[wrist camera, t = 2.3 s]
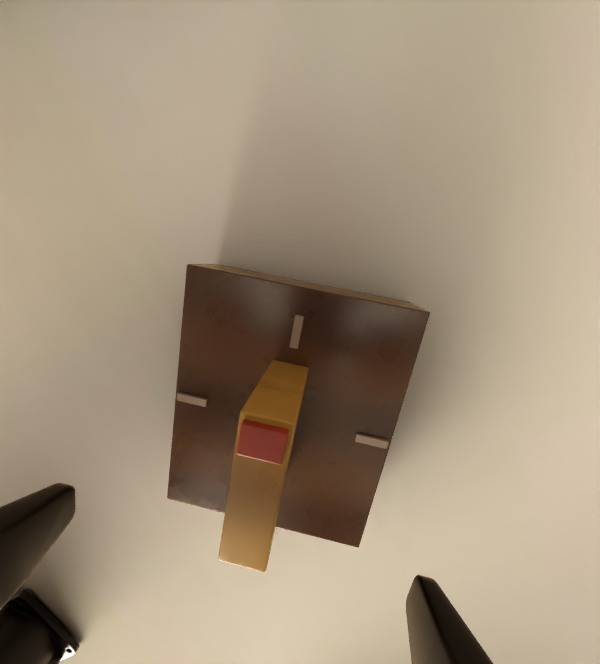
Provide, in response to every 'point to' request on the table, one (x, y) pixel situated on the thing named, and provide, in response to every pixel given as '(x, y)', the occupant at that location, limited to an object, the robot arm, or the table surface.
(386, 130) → the table surface
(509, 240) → the table surface
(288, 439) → the thumb turn
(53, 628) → the robot arm
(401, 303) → the plate
